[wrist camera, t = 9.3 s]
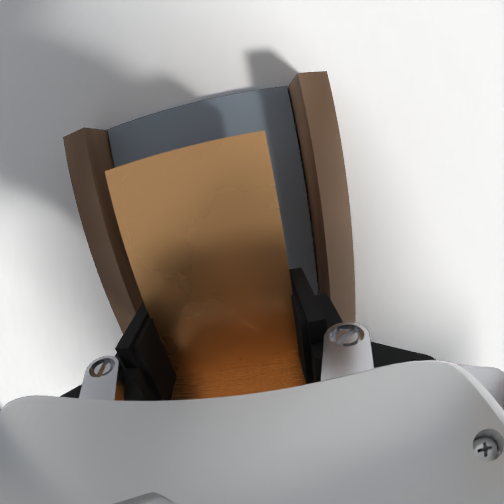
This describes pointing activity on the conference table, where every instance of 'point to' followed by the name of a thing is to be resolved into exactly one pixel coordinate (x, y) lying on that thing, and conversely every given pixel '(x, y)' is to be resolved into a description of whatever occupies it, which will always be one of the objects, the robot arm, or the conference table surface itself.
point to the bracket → (212, 264)
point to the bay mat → (226, 125)
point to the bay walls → (317, 183)
